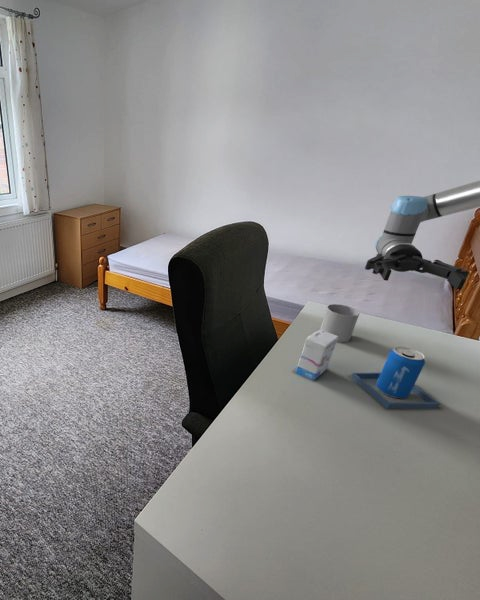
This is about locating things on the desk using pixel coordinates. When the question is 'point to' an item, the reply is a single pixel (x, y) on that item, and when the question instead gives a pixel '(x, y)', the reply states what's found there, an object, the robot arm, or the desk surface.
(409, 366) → the beverage can
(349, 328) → the cup
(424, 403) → the rectangular frame
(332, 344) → the ink box
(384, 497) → the desk surface
